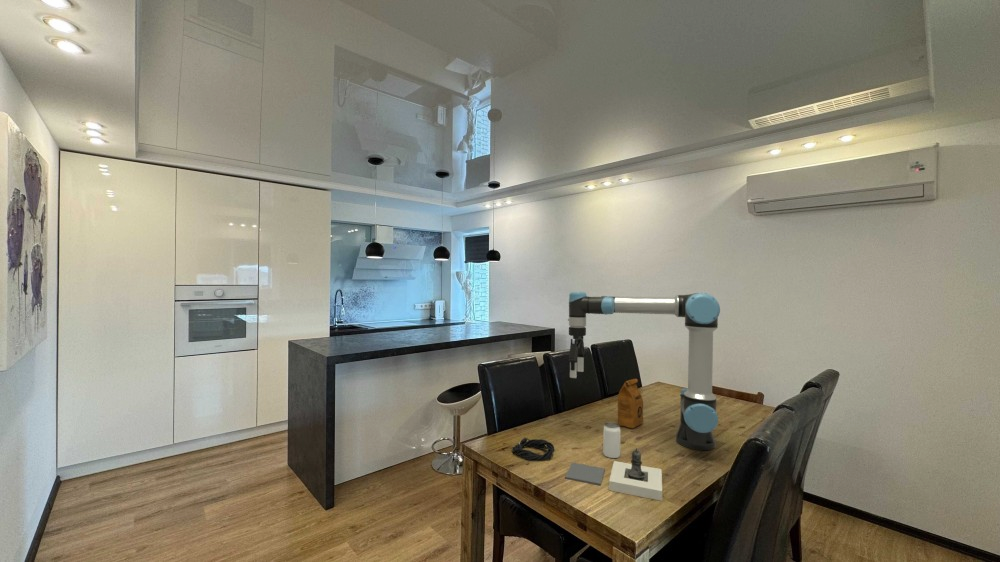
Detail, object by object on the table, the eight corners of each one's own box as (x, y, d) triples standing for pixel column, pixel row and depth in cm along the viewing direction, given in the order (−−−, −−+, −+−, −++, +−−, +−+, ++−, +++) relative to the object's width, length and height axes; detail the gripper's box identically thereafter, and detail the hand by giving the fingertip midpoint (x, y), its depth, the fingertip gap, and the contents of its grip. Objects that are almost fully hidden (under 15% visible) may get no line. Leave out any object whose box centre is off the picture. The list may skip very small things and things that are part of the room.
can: (617, 460, 148) (617, 428, 149) (601, 456, 152) (601, 425, 152) (622, 454, 154) (622, 424, 154) (605, 450, 157) (606, 420, 158)
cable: (561, 456, 152) (561, 445, 152) (537, 467, 142) (538, 455, 143) (529, 443, 165) (529, 432, 165) (505, 452, 155) (505, 441, 155)
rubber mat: (604, 470, 140) (604, 468, 140) (600, 485, 129) (600, 483, 129) (571, 464, 145) (571, 462, 145) (565, 478, 134) (565, 476, 134)
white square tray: (661, 477, 135) (661, 469, 135) (662, 500, 120) (662, 491, 120) (613, 469, 141) (614, 460, 141) (609, 490, 126) (609, 481, 126)
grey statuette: (624, 479, 133) (624, 444, 134) (640, 479, 134) (640, 444, 134) (631, 488, 127) (631, 452, 128) (648, 488, 128) (648, 451, 128)
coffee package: (646, 425, 188) (647, 379, 188) (633, 431, 179) (633, 383, 180) (628, 419, 195) (628, 376, 196) (614, 425, 187) (614, 379, 187)
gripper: (575, 324, 185) (575, 368, 184) (561, 328, 162) (560, 379, 162) (591, 324, 182) (591, 370, 181) (579, 329, 159) (578, 381, 159)
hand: (576, 374), depth 171 cm, fingers open, 13 cm apart
